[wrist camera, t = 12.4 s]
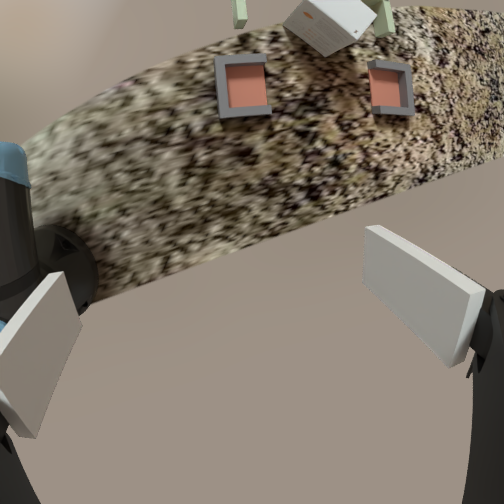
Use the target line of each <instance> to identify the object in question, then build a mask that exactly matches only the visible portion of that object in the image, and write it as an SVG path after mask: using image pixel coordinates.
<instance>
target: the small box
mask: <svg viewBox="0 0 504 504" xmlns="http://www.w3.org/2000/svg"><path fill="white" fill-rule="evenodd" d="M376 17H377V14H376V13H374V12H373V11H372V10H371V9H370V8H369V7H368V6H367V5H365V4H364V3H363V2H362V1H361V0H303V1H302V2H301V3H300V5H299V6H298V7H297V8H296V9H295V10H294V11H293V13H292V14H291V15H290V16H289V17H288V18H287V20H286V21H285V22H284V23H283V26H285V27H286V28H287V29H289V30H290V31H292V32H293V33H294V34H296V35H297V36H298V37H300V38H301V39H302V40H304V41H305V42H306V43H308V44H309V45H310V46H312V47H313V48H314V49H315V50H317V51H318V52H319V53H320V54H322V55H323V56H324V57H327V56H329V55H331V54H332V53H334V52H336V51H338V50H340V49H342V48H344V47H346V46H348V45H350V44H352V43H354V42H356V41H357V40H358V39H359V38H360V37H361V35H362V34H363V33H364V32H365V30H366V29H367V28H368V27H369V25H370V24H371V23H372V22H373V20H374V19H375V18H376Z"/></svg>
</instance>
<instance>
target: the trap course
mask: <svg viewBox="0 0 504 504" xmlns="http://www.w3.org/2000/svg"><path fill="white" fill-rule="evenodd" d="M231 1H232V12H233V22H234V29H243V28H244V26H245V24H246V22H247V19H248V18H247V9H246V0H231ZM361 1H362V2H363V3H364V4H365V5H367V6H368V7H370V8H371V10H372V11H373V12H374V13H376V14H377V17H376V18H375V19H374V20H373V25H374V31H375V37H378V38H383V37H386V36H388V35H391V34H393V33H395V27H394V22H393V16H392V11H391V6H390V2H389V0H361ZM213 62H214V73H215V84H216V94H217V104H218V114H219V119H225V118H235V117H247V116H260V115H269V114H272V110H271V105H267V98H266V88H265V78H264V68H263V65H264V64H265V63H266V62H267V59H266V54H241V55H225V56H215V57H214V60H213ZM367 64H368V73H369V82H370V92H371V104H372V114H387V115H403V116H415V111H414V97H413V86H412V77H411V68H410V65H408V64H402V63H396V62H390V61H383V60H372V61H369V62H367Z"/></svg>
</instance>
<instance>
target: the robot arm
mask: <svg viewBox="0 0 504 504" xmlns="http://www.w3.org/2000/svg"><path fill="white" fill-rule="evenodd" d="M30 189H31V184H30V182H29V179H28V169H27V157H26V154H25V151H24V150H23V148H22V147H20V146H19V145H17V144H15V143H10V142H0V504H41V503H40V501H39V499H38V498H37V496H36V494H35V492H34V490H33V488H32V486H31V484H30V482H29V480H28V477H27V475H26V473H25V471H24V469H23V466H22V464H21V462H20V460H19V457H18V455H17V452H16V450H15V447H14V445H13V442H12V440H11V438H10V437H9V435H8V434H7V433H6V430H7V428H8V426H9V425H10V426H11V428H12V429H13V430H14V431H15V433H16V434H17V435H18V436H19V437H25V438H34V439H36V437H37V434H38V431H39V429H40V426H41V423H42V420H43V417H44V415H45V412H46V410H47V406H48V404H49V401H50V399H51V397H52V394H53V392H54V389H55V387H56V384H57V382H58V379H59V376H60V375H61V372H62V370H63V367H64V365H65V363H66V361H67V358H68V356H69V354H70V352H71V349H72V347H73V345H74V343H75V341H76V338H77V337H78V335H79V332H80V330H81V328H82V324H81V321H80V318H79V316H80V315H81V314H82V313H84V312H85V311H86V309H87V308H88V307H89V306H90V304H91V302H92V300H93V298H94V296H95V294H96V291H97V287H98V270H97V265H96V262H95V260H94V257H93V255H92V253H91V251H90V250H89V248H88V247H87V245H86V244H85V243H84V242H83V241H82V240H81V239H80V238H79V237H78V236H77V235H76V234H74V233H73V232H71V231H70V230H68V229H66V228H63V227H60V226H56V225H43V226H39V227H37V228H35V229H34V226H33V218H32V208H31V197H30ZM362 283H363V284H364V285H365V286H366V287H367V288H368V289H369V290H371V292H372V293H374V294H375V295H376V296H377V297H378V298H379V299H380V300H381V301H382V302H383V303H384V304H385V305H386V306H387V307H388V308H389V309H390V310H391V311H392V312H393V313H394V314H395V315H396V316H397V317H398V318H400V320H401V321H403V323H404V324H405V325H407V326H408V327H409V329H410V330H411V331H412V332H413V333H415V335H416V336H417V337H419V338H420V340H421V341H423V343H424V344H425V345H426V346H427V347H428V348H429V349H430V350H431V351H432V352H433V353H434V354H435V355H436V356H437V357H438V358H439V359H440V360H441V361H442V362H443V363H444V364H445V365H446V366H447V367H448V368H451V367H453V366H455V365H457V364H459V363H461V362H463V361H464V360H465V358H466V355H467V352H468V349H469V346H470V347H471V348H472V349H473V350H474V351H475V354H474V357H473V360H472V362H471V365H470V368H469V370H468V373H467V376H466V378H469V376H470V374H471V373H472V372H473V414H472V432H471V444H470V455H469V463H468V470H467V477H466V484H465V490H464V495H463V500H462V504H504V290H497V291H495V292H494V293H493V292H491V291H490V290H488V289H487V288H485V287H484V286H482V285H481V284H479V283H477V282H476V281H474V280H473V279H470V278H469V277H468V276H467V275H465V274H463V273H462V272H460V271H458V270H457V269H455V268H454V267H451V266H449V265H447V264H446V263H444V262H443V261H441V260H439V259H438V258H436V257H434V256H433V255H431V254H429V253H427V252H426V251H424V250H423V249H421V248H419V247H417V246H416V245H414V244H412V243H411V242H409V241H407V240H405V239H404V238H402V237H400V236H398V235H397V234H395V233H393V232H391V231H389V230H387V229H386V228H384V227H382V226H380V225H375V226H368V227H365V240H364V265H363V281H362Z"/></svg>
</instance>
